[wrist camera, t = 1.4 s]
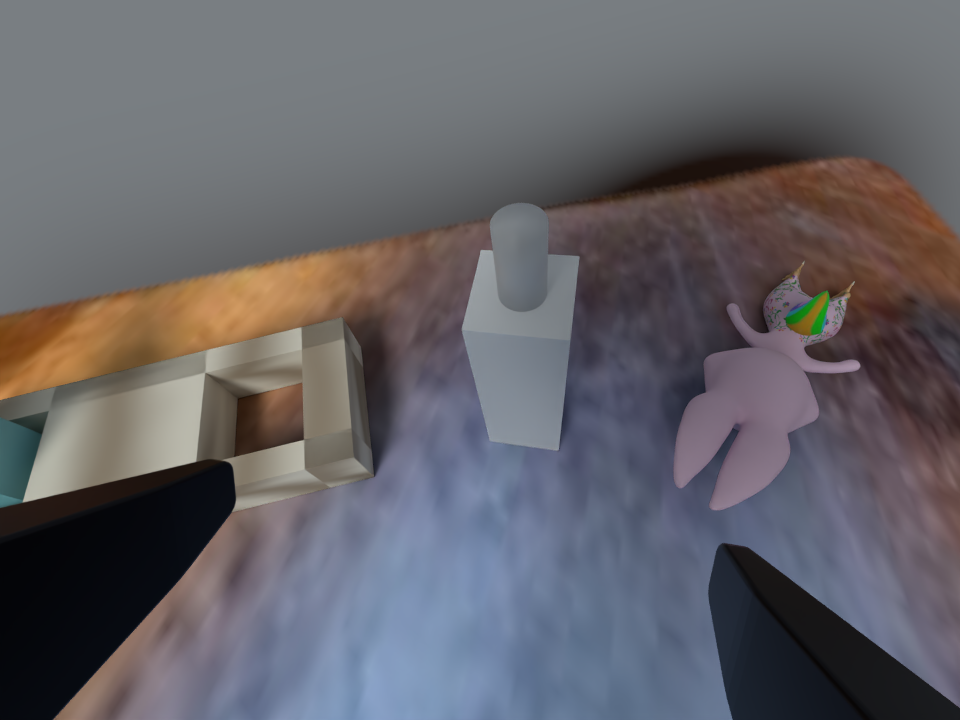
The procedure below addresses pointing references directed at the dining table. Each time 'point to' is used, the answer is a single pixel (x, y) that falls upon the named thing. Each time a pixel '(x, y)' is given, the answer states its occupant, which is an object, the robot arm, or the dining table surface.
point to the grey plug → (521, 329)
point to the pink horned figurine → (759, 393)
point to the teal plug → (16, 460)
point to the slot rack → (207, 418)
